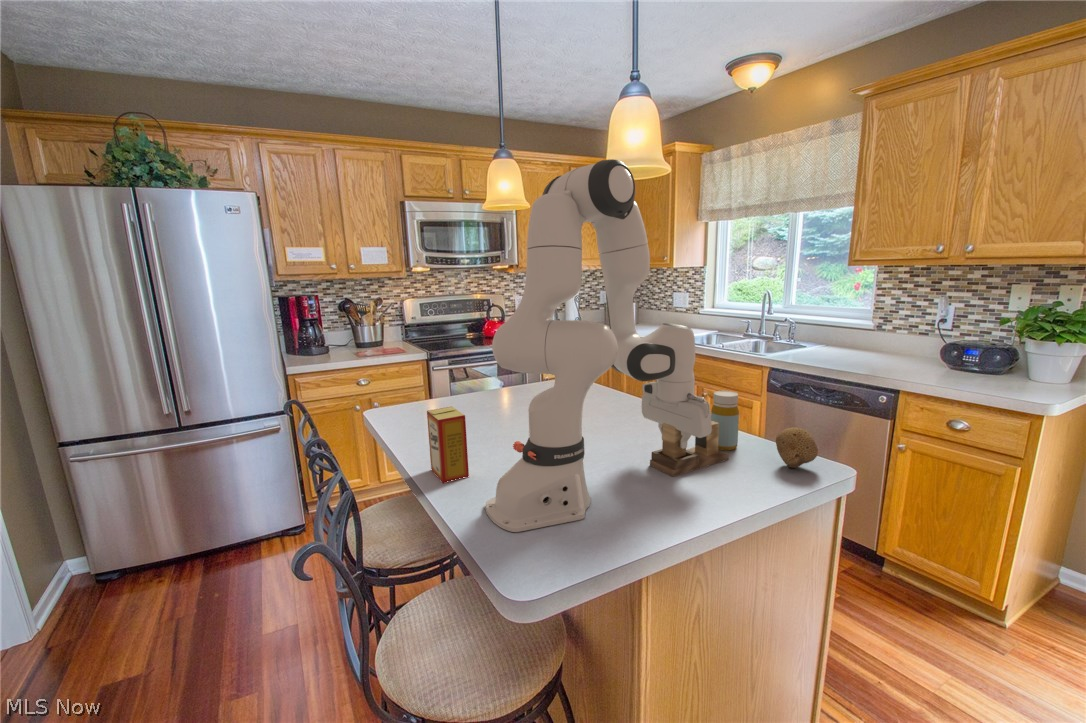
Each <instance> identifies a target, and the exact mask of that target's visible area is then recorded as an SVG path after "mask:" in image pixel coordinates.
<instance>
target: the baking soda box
mask: <svg viewBox="0 0 1086 723" xmlns="http://www.w3.org/2000/svg"><path fill="white" fill-rule="evenodd" d="M426 416H427V417H426V418H427V430H428V432H427V433H428V443H429V456H430V457H429V458H430V469H432V470H431V472H432V473H433V474H434V473H435V474H436V475H437V476H438V477H437V476H436V475H435V474H434V475H435V476H436V477H437V478H438V479H439V480H441V481H442V482H443V483H442V482H441V481H440V482H441V483H442V484H445V483H444V482H447V481H451V480H455V479H459V478H463V477H468V476H469V477H470V474H469V471H470V470H469V455H468V442H467V426H466V424H467V423H466V415H465V414H464V413H462V412H461V411H459V410H458V409H457V408H455V407H454V406H447V407H443V408H442V407H441V408H435V409H430V410H429V409H428V410H426ZM469 477H468V478H469ZM463 479H464V478H463ZM459 480H460V479H459ZM455 481H456V480H455ZM451 482H452V481H451ZM447 483H448V482H447Z"/></svg>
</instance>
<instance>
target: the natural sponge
mask: <svg viewBox="0 0 1086 723" xmlns="http://www.w3.org/2000/svg"><path fill="white" fill-rule="evenodd" d="M775 444H776V449H777V453H778V455H779V457H780V459H781V460H782V461H783V462H784V464H785V465H786V466H787V467H788V468H798V467H800V466H802V465H804V464H809V463H810V462H813V461H814V460H815V459H816V458H817V457H818V454H819V448H818V445H817V443H816V441H815V439H814V437H813V436H812V435H811V433H809V431H807V430H806V429H804V428H801V427H797V426H795V427H788V428H785V429H782V430H781V431H780V432H779V433H778V434H777V435H776V437H775Z"/></svg>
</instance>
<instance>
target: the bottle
mask: <svg viewBox="0 0 1086 723" xmlns="http://www.w3.org/2000/svg"><path fill="white" fill-rule="evenodd" d="M712 399H713V403H712V404H713V405H712V407H711V408H710V413H711V421H714V422H717V423H719V439H718V450H719V451H725V452H727V451H728V452H729V451H734V450H736V448H738V442H739V441H738V440H739V422H740V420H739V418H740V410H739V407H738V402H739V393H738V392H736V391H730V390H718V391H713V398H712Z"/></svg>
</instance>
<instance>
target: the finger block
mask: <svg viewBox="0 0 1086 723" xmlns="http://www.w3.org/2000/svg"><path fill="white" fill-rule="evenodd" d="M682 437H683V436H682V435H681V431H679V430H676V429H675V427H673V426H670V425H668V424H665V423H663V440H662V445H661V446H662V448H661V449H662V454H664V455H667V456H669V457H671V458H673V459H675V458H678V457H682V456H685V455H686V450H687V448H684V449H682V448H680V447H678V440H681V439H682Z"/></svg>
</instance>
